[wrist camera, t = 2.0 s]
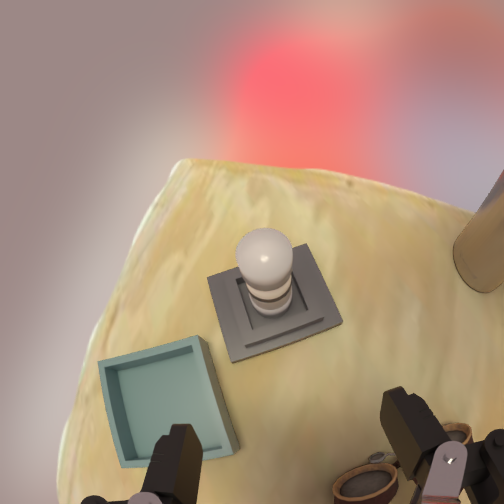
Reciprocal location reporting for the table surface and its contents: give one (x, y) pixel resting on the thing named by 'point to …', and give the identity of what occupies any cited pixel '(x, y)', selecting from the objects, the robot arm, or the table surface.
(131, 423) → the parts tray
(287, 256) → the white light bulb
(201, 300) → the table surface
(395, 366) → the table surface
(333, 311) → the grey recessed base plate
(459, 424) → the goggles
